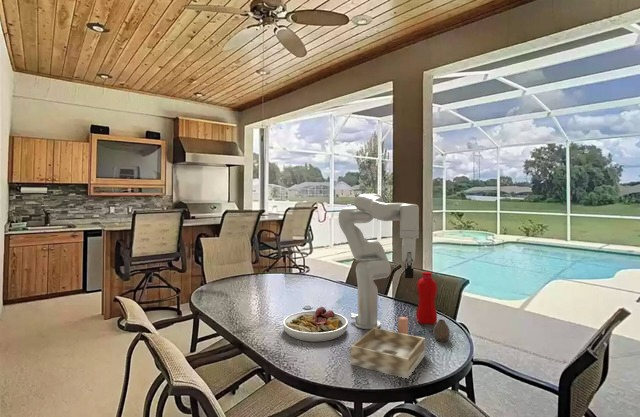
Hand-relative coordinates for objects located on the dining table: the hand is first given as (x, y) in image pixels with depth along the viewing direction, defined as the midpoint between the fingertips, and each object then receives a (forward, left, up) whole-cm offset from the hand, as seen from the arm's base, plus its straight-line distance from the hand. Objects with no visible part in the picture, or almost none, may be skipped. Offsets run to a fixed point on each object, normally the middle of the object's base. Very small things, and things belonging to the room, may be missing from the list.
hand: (408, 275), depth 155 cm
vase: (+10, +15, -31) cm, 36 cm away
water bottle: (-2, +35, -31) cm, 47 cm away
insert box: (-3, -15, -30) cm, 34 cm away
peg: (-4, +5, -30) cm, 31 cm away
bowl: (-43, -4, -31) cm, 53 cm away
